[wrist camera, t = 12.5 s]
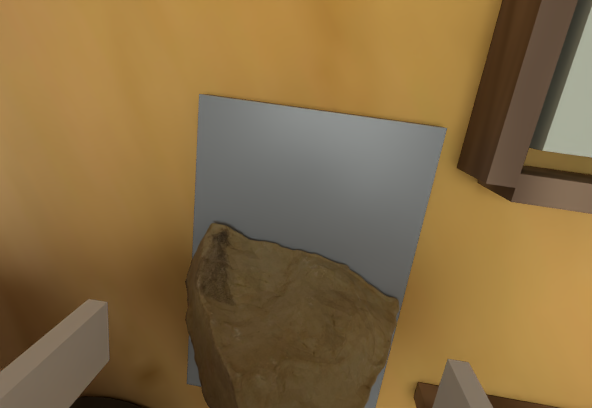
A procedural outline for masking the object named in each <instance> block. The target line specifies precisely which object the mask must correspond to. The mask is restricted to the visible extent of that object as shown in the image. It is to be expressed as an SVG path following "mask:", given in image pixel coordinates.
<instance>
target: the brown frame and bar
mask: <svg viewBox="0 0 592 408" xmlns="http://www.w3.org/2000/svg"><path fill="white" fill-rule="evenodd" d="M577 2H578V0H503V2H502V5H501V9H500V13H499V16H498V20H497V24H496V27H495V31H494V35H493V38H492V42H491V45H490V49H489V53H488V56H487V60H486V64H485V67H484V71H483V75H482V78H481V82H480V86H479V89H478V93H477V96H476V100H475V104H474V107H473V111H472V115H471V118H470V122H469V126H468V129H467V133H466V137H465V140H464V144H463V147H462V151H461V155H460V158H459V162H458V166H457V168H458V169H460V170H462V171H464V172H465V173H467V174H469V175H471V176H473V177H475V178H477V179H478V182H477V183H479V184H481V185H482V186H484V187H486V188H488V189H489V190H491V191H493V192H495V193H497V194H498V195H500V196H502V197H504V198H505V199H507V200H509V201H511V202H516V203H523V204H530V205H536V206H543V207H550V208H557V209H563V210H570V211H577V212H583V213H590V214H592V175H588V174H581V173H574V172H567V171H560V170H553V169H546V168H539V167H532V166H525V165H523V164H524V161H525V158H526V155H527V152H528V149H529V146H530V143H531V140H532V137H533V134H534V131H535V128H536V125H537V122H538V119H539V116H540V113H541V110H542V107H543V104H544V101H545V98H546V95H547V92H548V89H549V86H550V83H551V80H552V77H553V74H554V71H555V68H556V65H557V62H558V59H559V56H560V53H561V50H562V47H563V44H564V41H565V38H566V35H567V32H568V29H569V26H570V23H571V20H572V17H573V14H574V11H575V8H576V5H577ZM438 388H439V386H435V385H430V384H424V383H419V382H418V385H417V388H416V391H415V395H414V400H415V403H416V407H417V408H432V407H433V404H434V401H435V398H436V394H437V391H438ZM487 397H488V399H489V401H490V403H491V404H492V406H493V408H556V407H551V406H545V405H540V404H534V403H529V402H523V401H518V400H512V399H507V398H501V397H496V396H490V395H487Z"/></svg>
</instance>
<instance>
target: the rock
mask: <svg viewBox="0 0 592 408" xmlns="http://www.w3.org/2000/svg"><path fill="white" fill-rule="evenodd" d="M185 283H186V288H187V301H188V309H187V313H186V324H187V328H188V333H189V335H190V338H191V342H192V345H193V349H194V359H195V363H196V365H197V367H198V373H199V380H200V383H201V386H202V393H203V396H204V399H205V401H206V403H207V404H208V406H209V407H210V408H364V407H365V405H366V403H367V402H368V400H369V396H370V391H371V388H372V386H373V385H374V383H375V381H376V379H377V376H378V375H379V373H380V372H381V371H382V369H383V368H384V367H385V365H386V361H387V357H388V353H389V350H390V347H391V339H392V334H393V332H394V329H395V327H396V326H397V321H396V316H397V313H398V312H399V309H400V308H399V301H398V299H396V298H394V297H388V296H386V295H384V294H383V293H381V292H380V291H379V290H377V289H376V288H375V287H373V286H372V285H370V284H368V283H367V282H366V281H365V280H364V279H363V278H362V277H361V276H360V275H358V274H356V273H355V272H353V271H351V270H350V269H349V267H348V266H347V265H344V264H339V263H336V262H333V261H331V260H328V259H326V258H324V257H322V256H320V255H317V254H310V253H307V252H304V251H301V250H290V249H288V248H284V247H281V246H280V245H278V244H276V243H271V242H266V241H255V240H250V239H248V238H246V237H245V236H243V235H242V234H240V233H238V232H236V231H234V230H233V229H231V228H230V227H228V226H226V225H221V224H217V223H211V225H210V226H209V228H208V230H207V232H206V233H205V235H204V237H203V238H202V240H201V241H200V244H199V246H198V248H197V251H196V253H195V255H194V256H193V259H192V261H191V265H190V268H189V271H188V274H187V278H186V281H185Z"/></svg>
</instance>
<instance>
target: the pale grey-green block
mask: <svg viewBox="0 0 592 408" xmlns="http://www.w3.org/2000/svg"><path fill="white" fill-rule="evenodd" d="M529 148H533V149H538V150H542V151H548V152H556V153H563V154H571V155H578V156H585V157H592V0H578V2H577V5H576V8H575V11H574V14H573V17H572V20H571V23H570V26H569V29H568V32H567V35H566V38H565V41H564V44H563V47H562V50H561V53H560V56H559V59H558V62H557V65H556V68H555V71H554V74H553V77H552V80H551V83H550V86H549V89H548V92H547V95H546V98H545V101H544V104H543V107H542V110H541V113H540V116H539V119H538V122H537V125H536V128H535V131H534V134H533V137H532V140H531V143H530V146H529Z"/></svg>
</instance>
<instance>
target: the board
mask: <svg viewBox="0 0 592 408" xmlns="http://www.w3.org/2000/svg"><path fill="white" fill-rule="evenodd" d="M446 130H447V128H444V127H439V126H432V125H425V124H417V123H410V122H403V121H395V120H388V119H381V118H374V117H366V116H359V115H352V114H345V113H337V112H330V111H323V110H316V109H308V108H301V107H294V106H287V105H279V104H272V103H265V102H258V101H250V100H243V99H236V98H229V97H221V96H214V95H207V94H199V112H198V136H197V159H196V182H195V206H194V229H193V253H192V259H193V256H194V255H195V253H196V251H197V248H198V246H199V244H200V241H201V240H202V238H203V237H204V235H205V233H206V232H207V230H208V228H209V226H210V225H211V223H217V224H221V225H226V226H228V227H230V228H231V229H233V230H234V231H236V232H238V233H240V234H242V235H243V236H245V237H246V238H248V239H250V240H255V241H266V242H271V243H276V244H278V245H280V246H281V247H284V248H288V249H290V250H301V251H304V252H307V253H310V254H317V255H320V256H322V257H324V258H326V259H328V260H331V261H333V262H336V263H339V264H344V265H347V266H348V267H349V269H350V270H351V271H353V272H355V273H356V274H358V275H360V276H361V277H362V278H363V279H364V280H365V281H366V282H367V283H368V284H370V285H372V286H373V287H375V288H376V289H377V290H379V291H380V292H381V293H383V294H384V295H386V296H388V297H394V298H396V299H398V301H399V308H400V309H399V312H398V313H397V316H396V321H398V317H399V313H400V310H401V306H402V302H403V298H404V294H405V290H406V286H407V282H408V278H409V274H410V271H411V267H412V263H413V259H414V255H415V251H416V247H417V243H418V239H419V236H420V232H421V228H422V224H423V220H424V216H425V212H426V208H427V204H428V200H429V197H430V193H431V189H432V185H433V181H434V177H435V173H436V169H437V165H438V161H439V158H440V154H441V150H442V146H443V142H444V138H445V134H446ZM395 329H396V327H395ZM395 329H394V332H393V334H392V339H391V345H392V341H393V337H394V333H395ZM390 349H391V347H390ZM389 352H390V350H389ZM388 356H389V353H388ZM387 360H388V357H387ZM386 364H387V361H386ZM385 368H386V365H385V367H384V368H383V369H382V371H381V372H380V373H379V375H378V376H377V379H376V381H375V383H374V385H373V386H372V388H371V391H370V396H369V400H368V402H367V403H366V405H365V407H364V408H375V407H376V403H377V399H378V395H379V391H380V388H381V384H382V380H383V376H384V372H385ZM187 384H190V385H195V386H200V387H202V386H201V383H200V380H199V373H198V367H197V365H196V363H195V359H194V349H193V345H192V342H191V338H190V335H189V346H188V369H187Z"/></svg>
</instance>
